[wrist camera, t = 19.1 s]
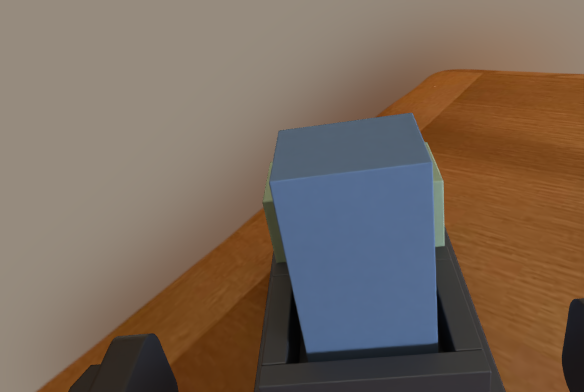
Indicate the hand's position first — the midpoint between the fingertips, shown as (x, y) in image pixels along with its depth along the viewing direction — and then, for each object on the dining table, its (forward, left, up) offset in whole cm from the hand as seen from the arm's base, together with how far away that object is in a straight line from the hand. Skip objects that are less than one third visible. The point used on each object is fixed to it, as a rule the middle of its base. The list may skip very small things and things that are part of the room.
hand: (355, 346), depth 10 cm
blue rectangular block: (+3, +8, -10) cm, 13 cm away
